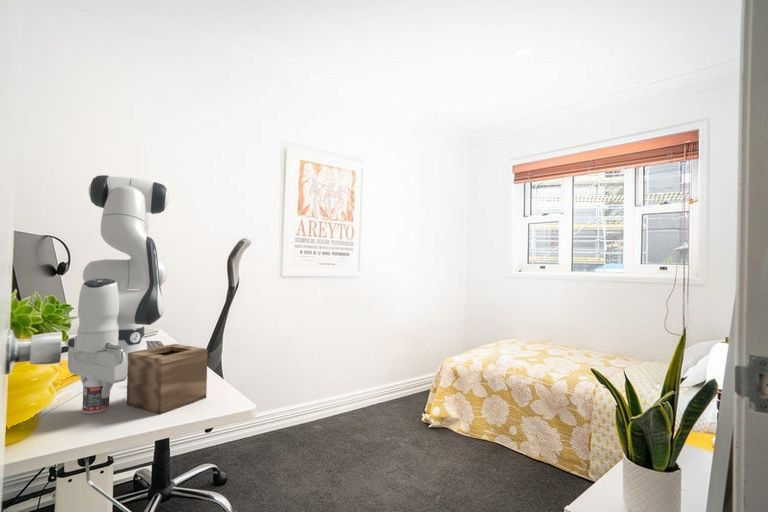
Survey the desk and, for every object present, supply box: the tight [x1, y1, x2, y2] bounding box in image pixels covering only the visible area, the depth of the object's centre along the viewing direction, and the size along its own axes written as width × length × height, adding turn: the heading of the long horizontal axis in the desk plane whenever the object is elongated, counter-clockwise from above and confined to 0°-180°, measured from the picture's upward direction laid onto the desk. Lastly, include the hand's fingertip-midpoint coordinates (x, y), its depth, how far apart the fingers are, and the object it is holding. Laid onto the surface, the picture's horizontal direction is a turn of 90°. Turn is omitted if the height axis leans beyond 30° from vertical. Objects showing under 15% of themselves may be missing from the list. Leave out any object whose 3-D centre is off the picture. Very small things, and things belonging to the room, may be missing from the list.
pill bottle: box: [81, 373, 111, 414], centre depth 104 cm, size 6×6×10 cm
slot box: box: [126, 343, 209, 415], centre depth 112 cm, size 14×14×14 cm
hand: (96, 394), depth 104 cm, fingers closed on pill bottle, 6 cm apart
